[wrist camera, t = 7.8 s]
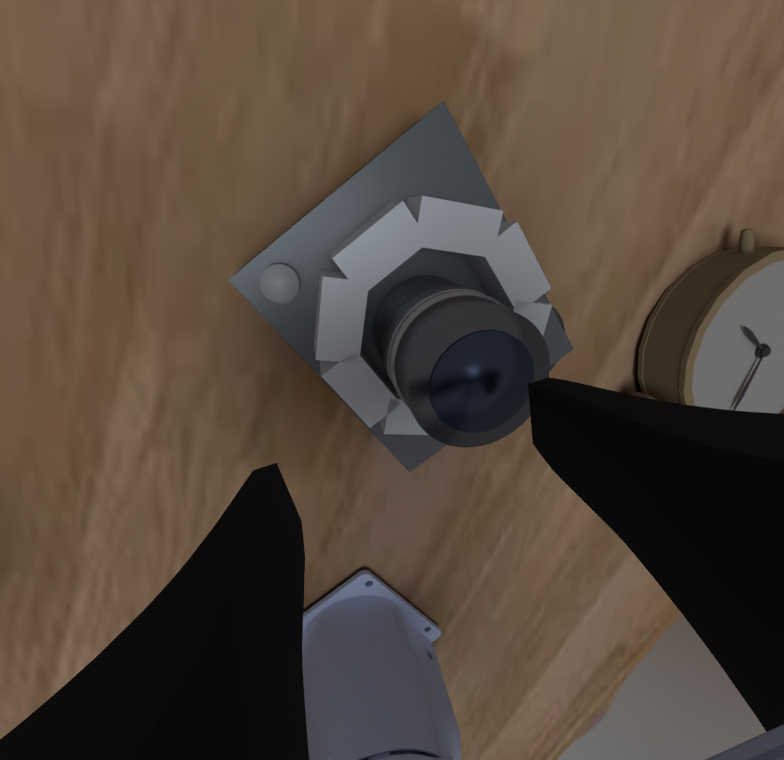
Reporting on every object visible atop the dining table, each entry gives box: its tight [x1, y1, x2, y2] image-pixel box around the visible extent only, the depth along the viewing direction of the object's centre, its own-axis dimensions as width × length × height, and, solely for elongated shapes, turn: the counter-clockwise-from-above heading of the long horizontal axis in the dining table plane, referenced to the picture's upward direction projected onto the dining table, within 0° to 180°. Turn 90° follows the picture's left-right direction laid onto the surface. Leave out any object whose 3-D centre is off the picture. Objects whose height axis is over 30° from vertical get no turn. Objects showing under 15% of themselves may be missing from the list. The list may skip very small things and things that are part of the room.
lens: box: [372, 275, 550, 447], centre depth 14 cm, size 5×5×6 cm
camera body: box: [229, 101, 573, 472], centre depth 17 cm, size 12×10×5 cm
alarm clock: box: [630, 228, 784, 414], centre depth 24 cm, size 11×5×15 cm
